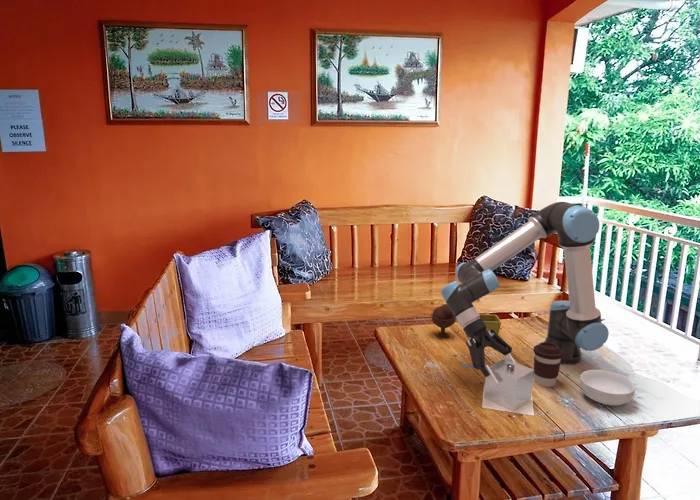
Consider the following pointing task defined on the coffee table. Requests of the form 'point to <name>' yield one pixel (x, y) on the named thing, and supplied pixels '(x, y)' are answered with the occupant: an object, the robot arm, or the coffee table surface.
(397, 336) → the coffee table surface
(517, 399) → the metal cover
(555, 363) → the coffee cup
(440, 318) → the ice cream bowl
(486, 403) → the serving board
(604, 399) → the cereal bowl
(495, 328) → the flower pot
